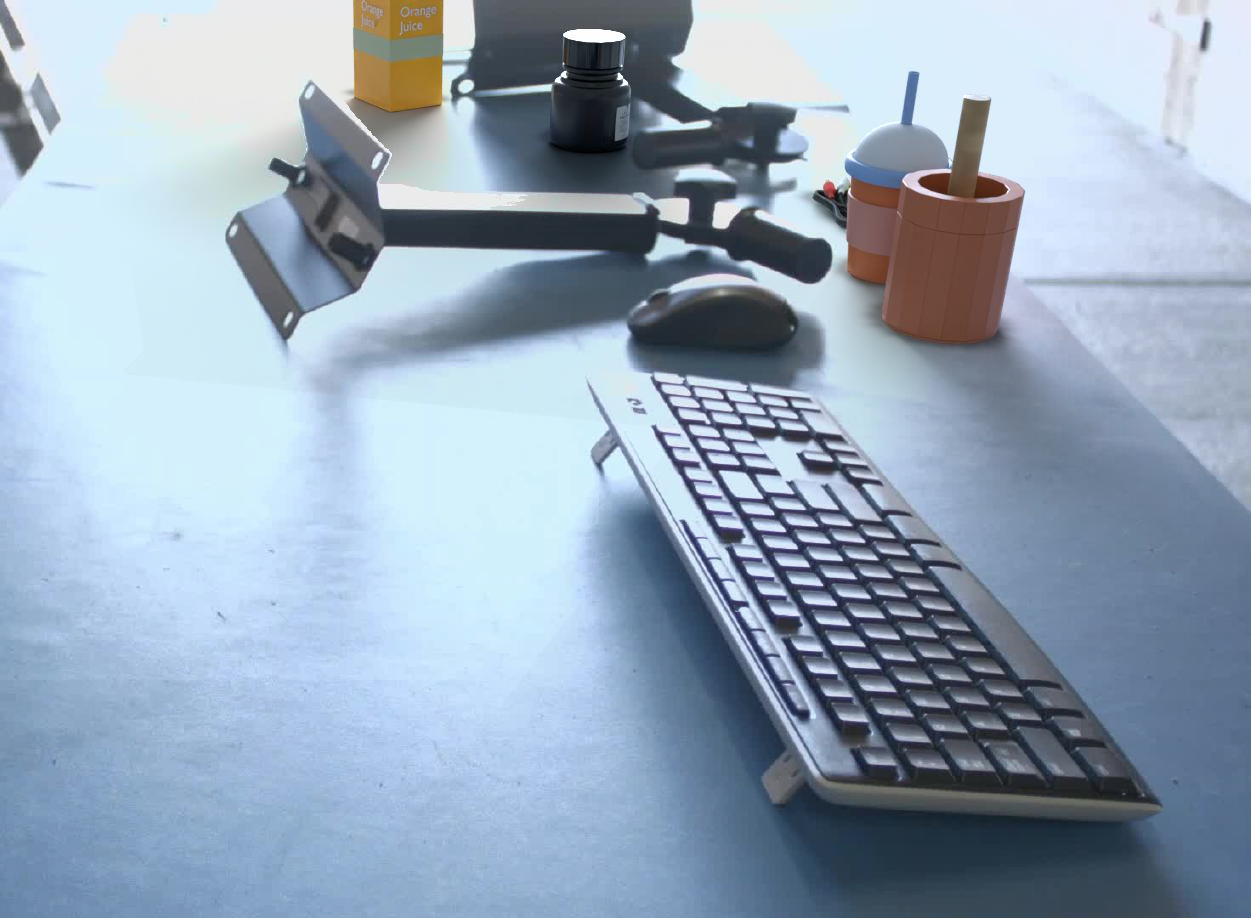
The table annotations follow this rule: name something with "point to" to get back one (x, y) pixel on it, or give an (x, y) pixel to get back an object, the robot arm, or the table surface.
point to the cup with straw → (885, 185)
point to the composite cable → (835, 199)
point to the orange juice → (398, 53)
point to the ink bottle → (591, 93)
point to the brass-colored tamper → (969, 145)
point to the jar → (951, 257)
